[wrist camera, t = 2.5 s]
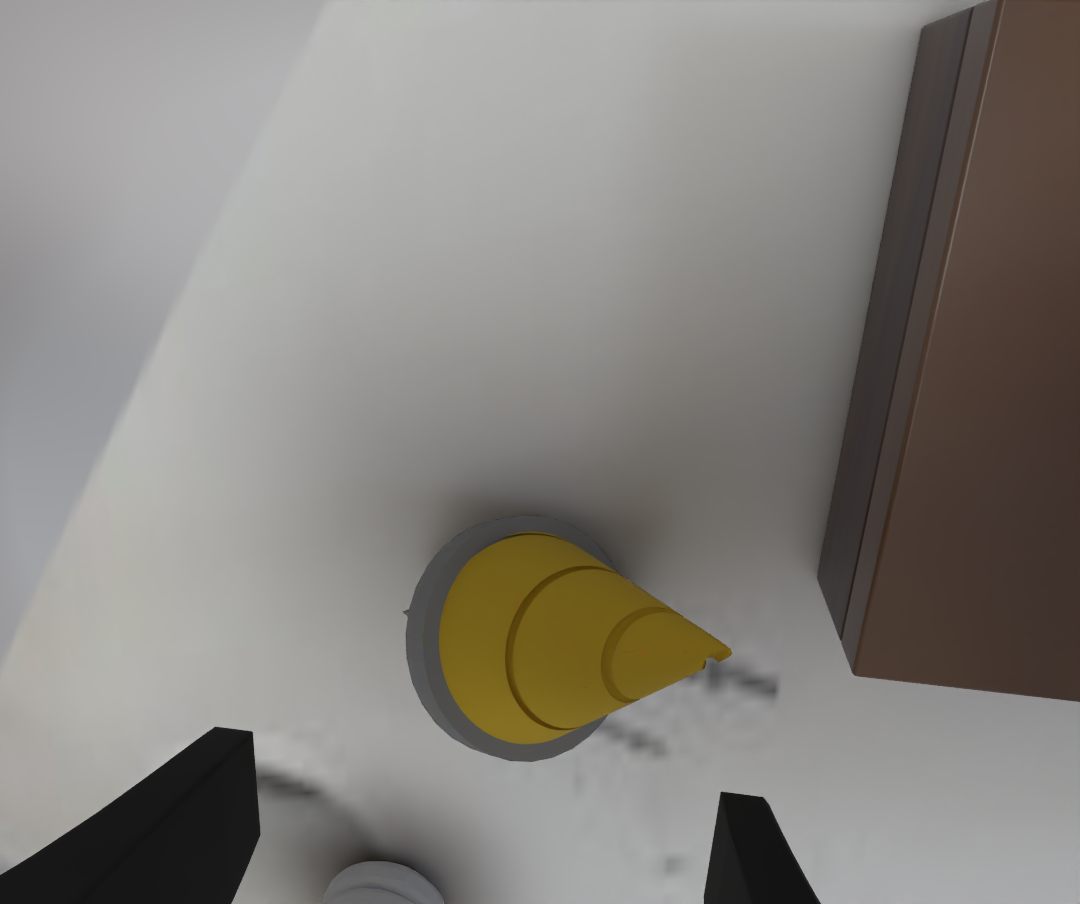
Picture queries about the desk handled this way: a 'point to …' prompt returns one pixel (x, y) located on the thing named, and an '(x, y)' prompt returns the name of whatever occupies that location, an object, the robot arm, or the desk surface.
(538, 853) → the desk surface
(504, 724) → the yellow stepped cone
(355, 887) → the light bulb
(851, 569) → the desk riser
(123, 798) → the robot arm
